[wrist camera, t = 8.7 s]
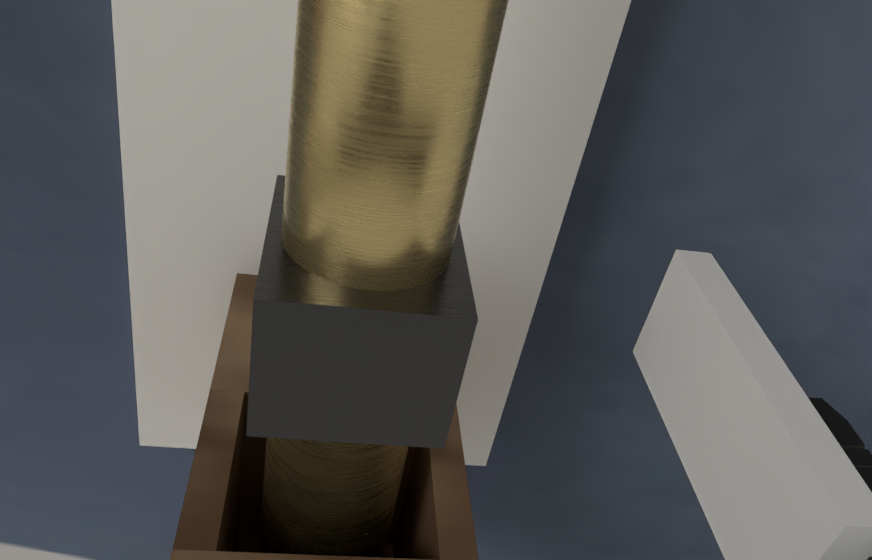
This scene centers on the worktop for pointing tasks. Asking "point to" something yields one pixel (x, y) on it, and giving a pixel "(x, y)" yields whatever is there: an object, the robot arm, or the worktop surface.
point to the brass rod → (366, 264)
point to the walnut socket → (245, 461)
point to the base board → (266, 158)
